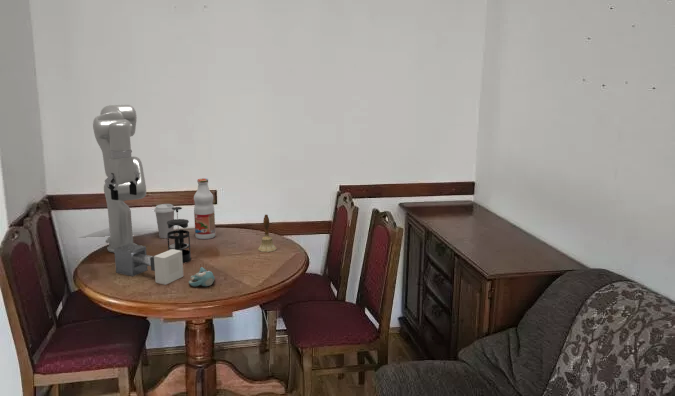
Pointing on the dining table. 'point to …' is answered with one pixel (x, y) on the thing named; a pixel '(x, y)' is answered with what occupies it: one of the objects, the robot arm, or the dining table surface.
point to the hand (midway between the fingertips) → (124, 197)
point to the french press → (179, 237)
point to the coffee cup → (164, 219)
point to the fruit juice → (204, 211)
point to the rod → (144, 260)
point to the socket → (168, 266)
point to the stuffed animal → (202, 278)
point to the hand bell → (267, 238)
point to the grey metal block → (129, 259)
